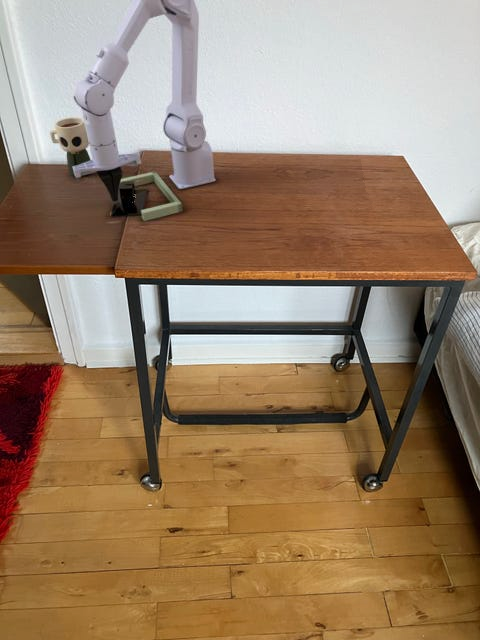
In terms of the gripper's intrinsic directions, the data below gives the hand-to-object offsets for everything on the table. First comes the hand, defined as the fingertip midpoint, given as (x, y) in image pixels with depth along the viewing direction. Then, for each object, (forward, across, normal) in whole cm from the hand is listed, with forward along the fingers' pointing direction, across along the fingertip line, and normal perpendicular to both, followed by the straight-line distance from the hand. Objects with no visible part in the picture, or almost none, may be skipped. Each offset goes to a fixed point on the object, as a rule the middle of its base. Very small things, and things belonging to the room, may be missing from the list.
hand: (114, 199), depth 122 cm
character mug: (+2, +3, -22) cm, 23 cm away
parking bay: (+2, -8, 0) cm, 9 cm away
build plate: (+2, -3, 0) cm, 4 cm away
